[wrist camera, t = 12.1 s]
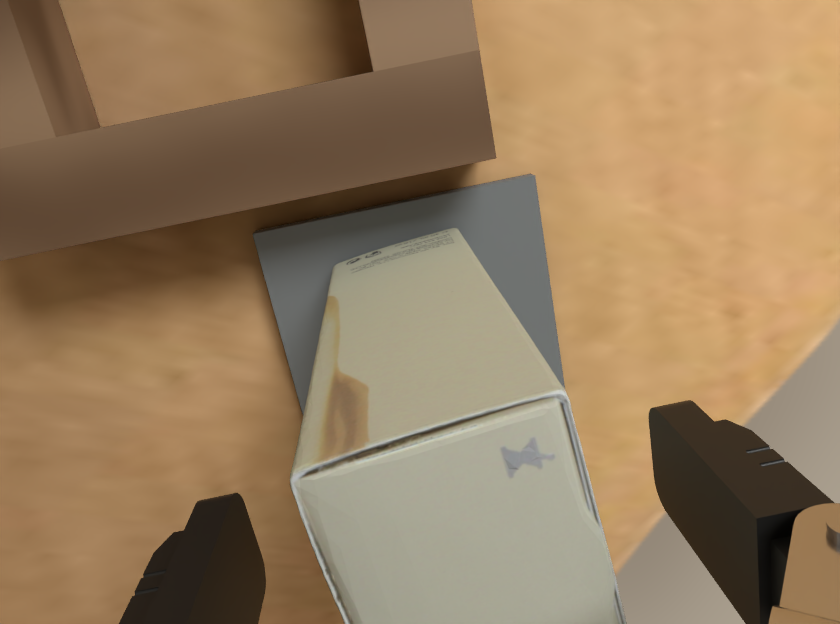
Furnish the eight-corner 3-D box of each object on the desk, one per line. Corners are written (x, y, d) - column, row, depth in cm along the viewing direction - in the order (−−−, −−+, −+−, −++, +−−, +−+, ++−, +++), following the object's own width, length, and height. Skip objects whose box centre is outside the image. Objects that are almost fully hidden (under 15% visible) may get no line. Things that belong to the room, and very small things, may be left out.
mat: (255, 230, 21) (252, 233, 20) (530, 173, 21) (534, 175, 20) (322, 472, 24) (321, 481, 23) (565, 421, 24) (570, 429, 23)
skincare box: (328, 262, 21) (266, 457, 9) (459, 222, 21) (567, 366, 9) (390, 435, 23) (403, 779, 11) (509, 399, 23) (652, 707, 11)
